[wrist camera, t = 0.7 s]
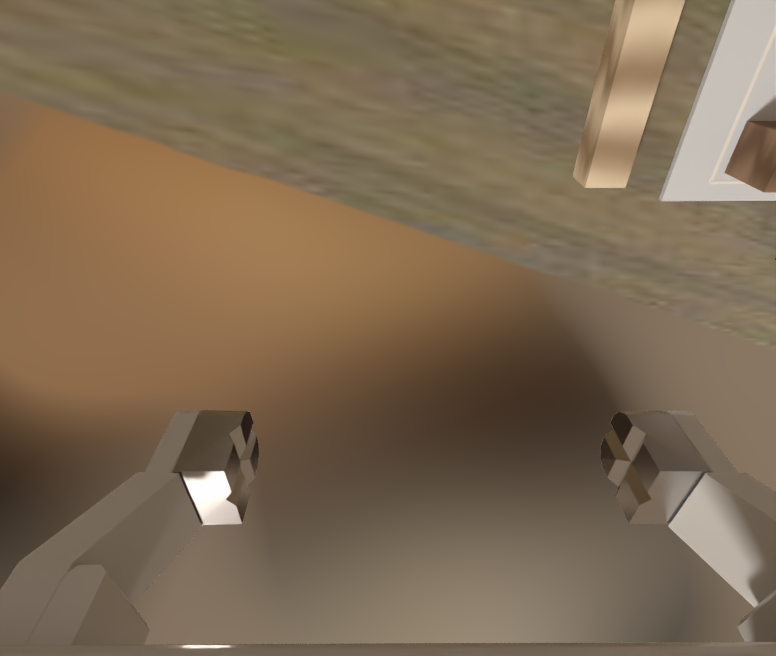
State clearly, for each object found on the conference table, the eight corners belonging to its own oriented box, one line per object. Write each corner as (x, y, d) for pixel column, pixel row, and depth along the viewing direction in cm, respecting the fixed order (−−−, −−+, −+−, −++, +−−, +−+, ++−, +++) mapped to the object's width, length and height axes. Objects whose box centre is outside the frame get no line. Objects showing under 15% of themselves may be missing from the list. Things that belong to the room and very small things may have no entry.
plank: (632, -77, 36) (657, -85, 32) (682, -77, 36) (712, -85, 32) (571, 175, 48) (585, 187, 44) (609, 175, 48) (625, 187, 44)
